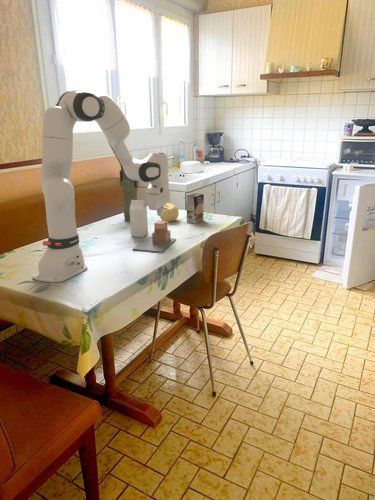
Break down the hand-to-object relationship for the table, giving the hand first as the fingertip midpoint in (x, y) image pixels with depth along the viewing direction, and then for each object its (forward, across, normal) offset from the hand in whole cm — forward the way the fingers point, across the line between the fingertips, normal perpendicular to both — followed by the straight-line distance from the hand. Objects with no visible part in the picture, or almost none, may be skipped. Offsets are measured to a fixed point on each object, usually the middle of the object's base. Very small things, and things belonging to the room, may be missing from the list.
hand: (160, 215), depth 184 cm
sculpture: (+14, -41, -10) cm, 45 cm away
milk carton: (+15, -9, -16) cm, 23 cm away
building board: (+14, +4, -2) cm, 15 cm away
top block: (+8, 0, 0) cm, 9 cm away
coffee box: (+14, -43, +6) cm, 46 cm away
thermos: (+14, -37, -34) cm, 52 cm away
